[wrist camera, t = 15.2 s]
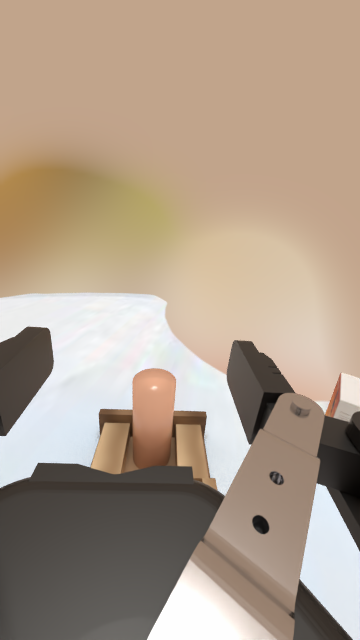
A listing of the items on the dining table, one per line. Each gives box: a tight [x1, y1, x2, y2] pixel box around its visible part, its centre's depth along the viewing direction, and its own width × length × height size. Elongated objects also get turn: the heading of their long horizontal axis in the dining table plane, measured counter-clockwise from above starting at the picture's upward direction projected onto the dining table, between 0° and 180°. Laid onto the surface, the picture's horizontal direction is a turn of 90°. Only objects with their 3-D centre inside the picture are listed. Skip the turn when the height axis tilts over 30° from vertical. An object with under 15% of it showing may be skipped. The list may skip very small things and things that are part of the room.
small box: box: [325, 373, 360, 422], centre depth 35 cm, size 8×6×10 cm
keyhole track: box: [90, 409, 217, 490], centre depth 28 cm, size 15×18×5 cm
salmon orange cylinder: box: [133, 369, 176, 469], centre depth 31 cm, size 5×5×12 cm
